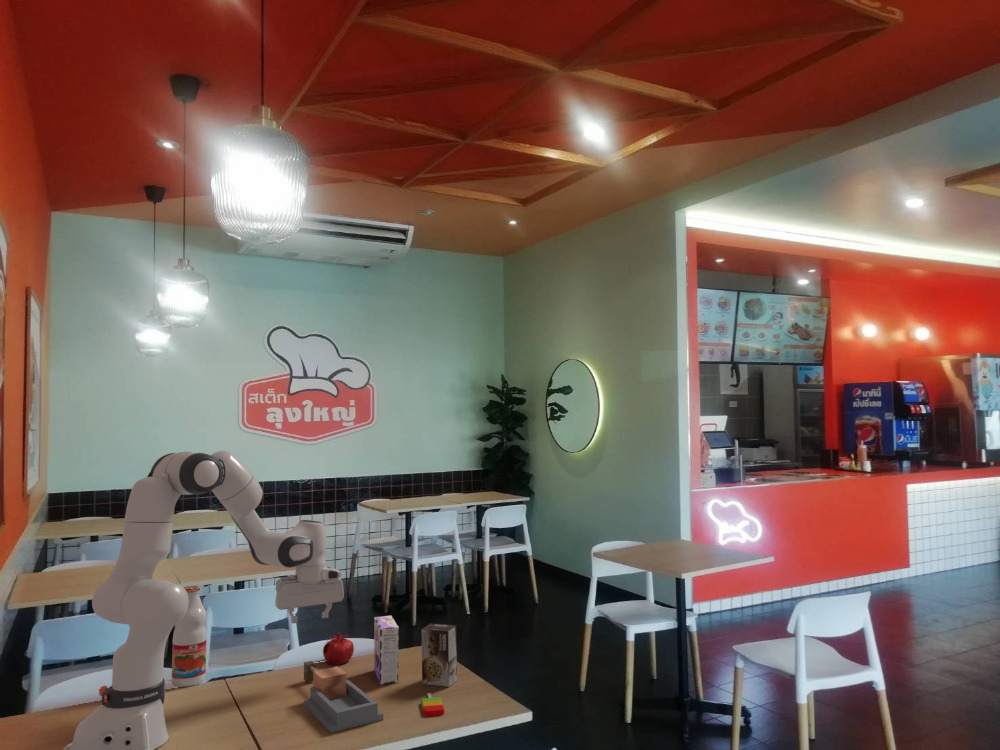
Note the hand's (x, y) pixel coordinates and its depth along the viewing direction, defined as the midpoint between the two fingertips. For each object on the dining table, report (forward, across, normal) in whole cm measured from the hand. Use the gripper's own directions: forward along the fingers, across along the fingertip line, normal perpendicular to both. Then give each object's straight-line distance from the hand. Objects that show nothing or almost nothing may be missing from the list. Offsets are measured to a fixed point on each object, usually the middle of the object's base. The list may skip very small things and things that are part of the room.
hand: (309, 620), depth 209 cm
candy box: (+18, +21, -9) cm, 29 cm away
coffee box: (+18, +32, -23) cm, 43 cm away
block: (+18, 0, -10) cm, 20 cm away
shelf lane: (+18, 0, -28) cm, 33 cm away
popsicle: (+19, +22, -37) cm, 47 cm away
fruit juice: (+18, -30, +21) cm, 41 cm away
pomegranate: (+18, +14, +13) cm, 27 cm away
